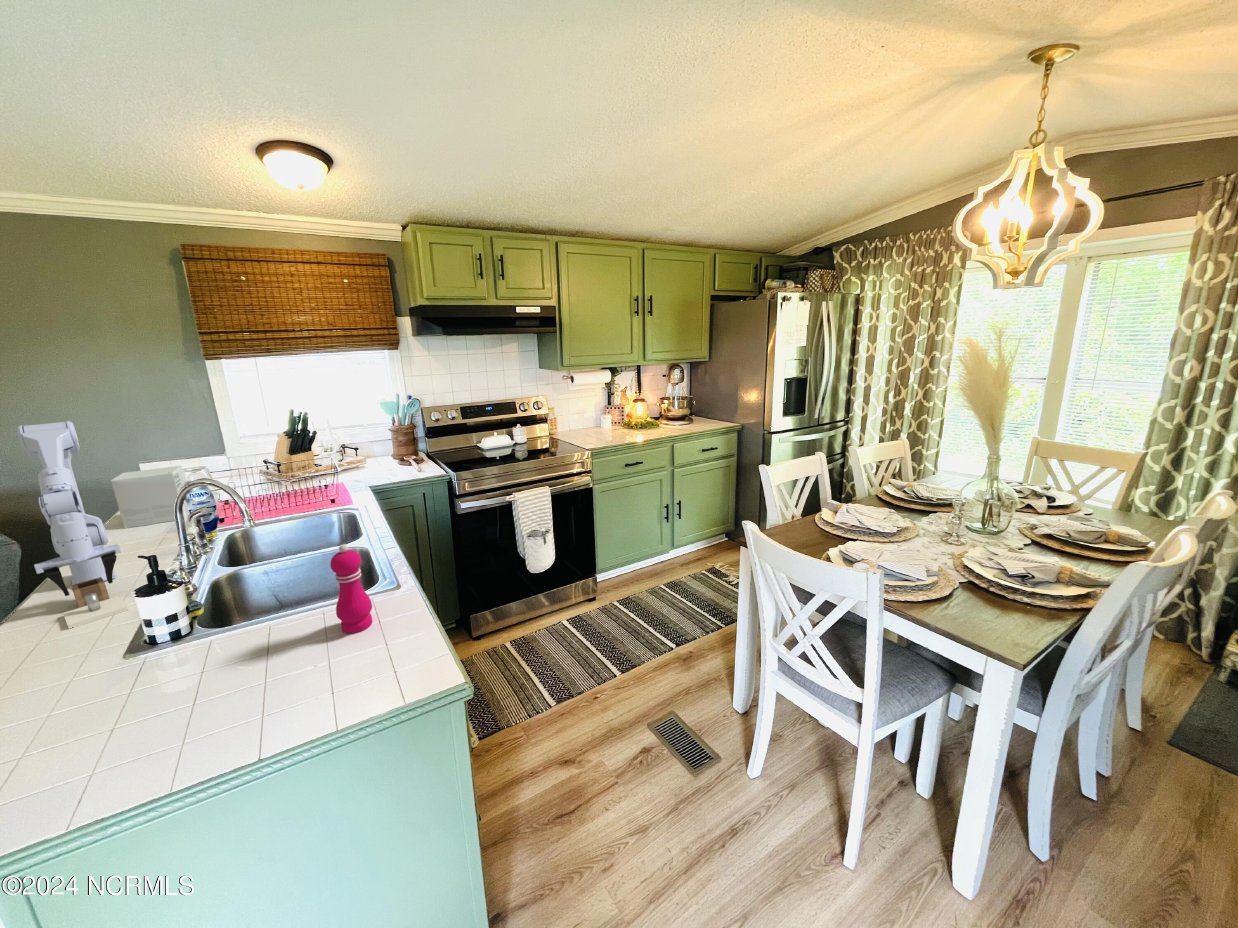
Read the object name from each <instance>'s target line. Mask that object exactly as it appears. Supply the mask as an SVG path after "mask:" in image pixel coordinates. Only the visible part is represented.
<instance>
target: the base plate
mask: <svg viewBox="0 0 1238 928" xmlns="http://www.w3.org/2000/svg"><path fill="white" fill-rule="evenodd" d="M84 597H85V600H86V603H87V606H84V607H81V608H79V607H78V608H75V609H71V610H68V611H65V612H62V614H63V617H64V620H65V623H66V625H67V627H68V630H70V628H71V629H73V628H72V627H74V628H77V627H79V626H80V627H81V626H83V625H85V624H89V623H93V622H95V621H98V620H102V619H104V618H105V619H106V618H108V617H111V616H113V615H116V614H117V615H118V614H120V613H123V612H127V611H128V610H129V608H128V606H127V605H126V603H125V601H124V600H123V598H122V596H121V595H117V596H113V597H109V598H110V599H107V600H104V601H100V602H99V600H98V597H97V594H96V593H90V594H87V595H85V596H84Z"/></svg>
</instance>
